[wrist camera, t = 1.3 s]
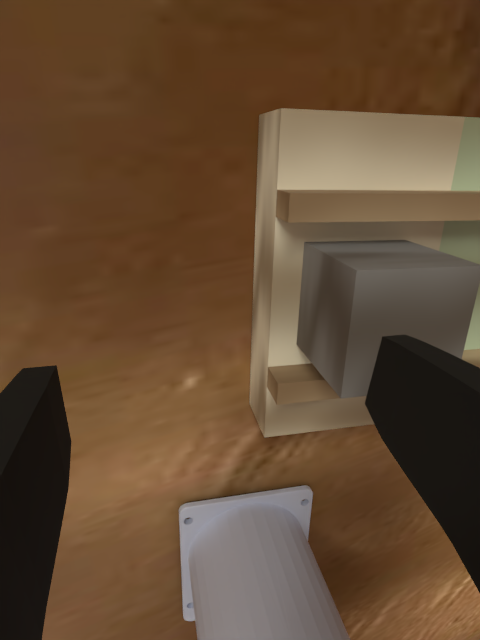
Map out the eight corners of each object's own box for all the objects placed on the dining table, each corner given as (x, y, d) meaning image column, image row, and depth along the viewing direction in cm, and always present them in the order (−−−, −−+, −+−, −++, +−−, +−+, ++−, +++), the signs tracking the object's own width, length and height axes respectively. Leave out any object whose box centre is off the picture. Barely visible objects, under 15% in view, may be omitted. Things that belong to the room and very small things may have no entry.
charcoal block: (388, 337, 20) (455, 386, 15) (296, 344, 19) (340, 398, 14) (405, 239, 18) (483, 265, 14) (304, 241, 17) (357, 270, 13)
